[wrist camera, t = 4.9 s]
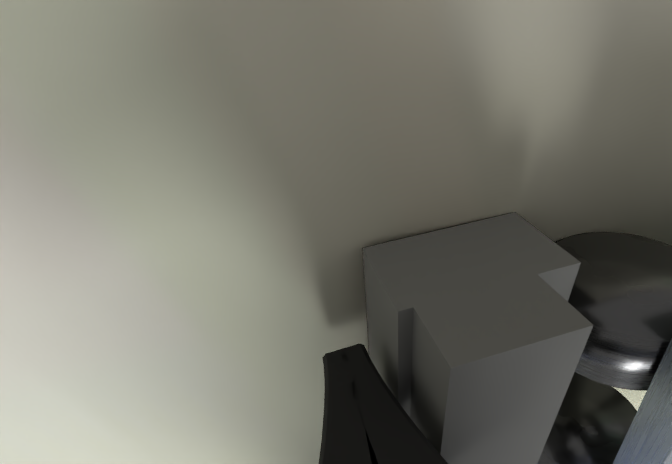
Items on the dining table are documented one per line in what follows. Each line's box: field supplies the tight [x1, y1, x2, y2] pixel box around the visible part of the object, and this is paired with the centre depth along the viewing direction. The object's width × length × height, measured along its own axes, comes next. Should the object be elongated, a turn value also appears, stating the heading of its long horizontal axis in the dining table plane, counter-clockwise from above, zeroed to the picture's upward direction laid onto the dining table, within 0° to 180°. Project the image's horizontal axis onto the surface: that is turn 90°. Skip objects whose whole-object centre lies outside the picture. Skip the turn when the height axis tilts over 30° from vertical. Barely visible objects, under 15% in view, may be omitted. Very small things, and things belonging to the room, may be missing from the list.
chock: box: [363, 212, 593, 464], centre depth 11 cm, size 6×4×4 cm
